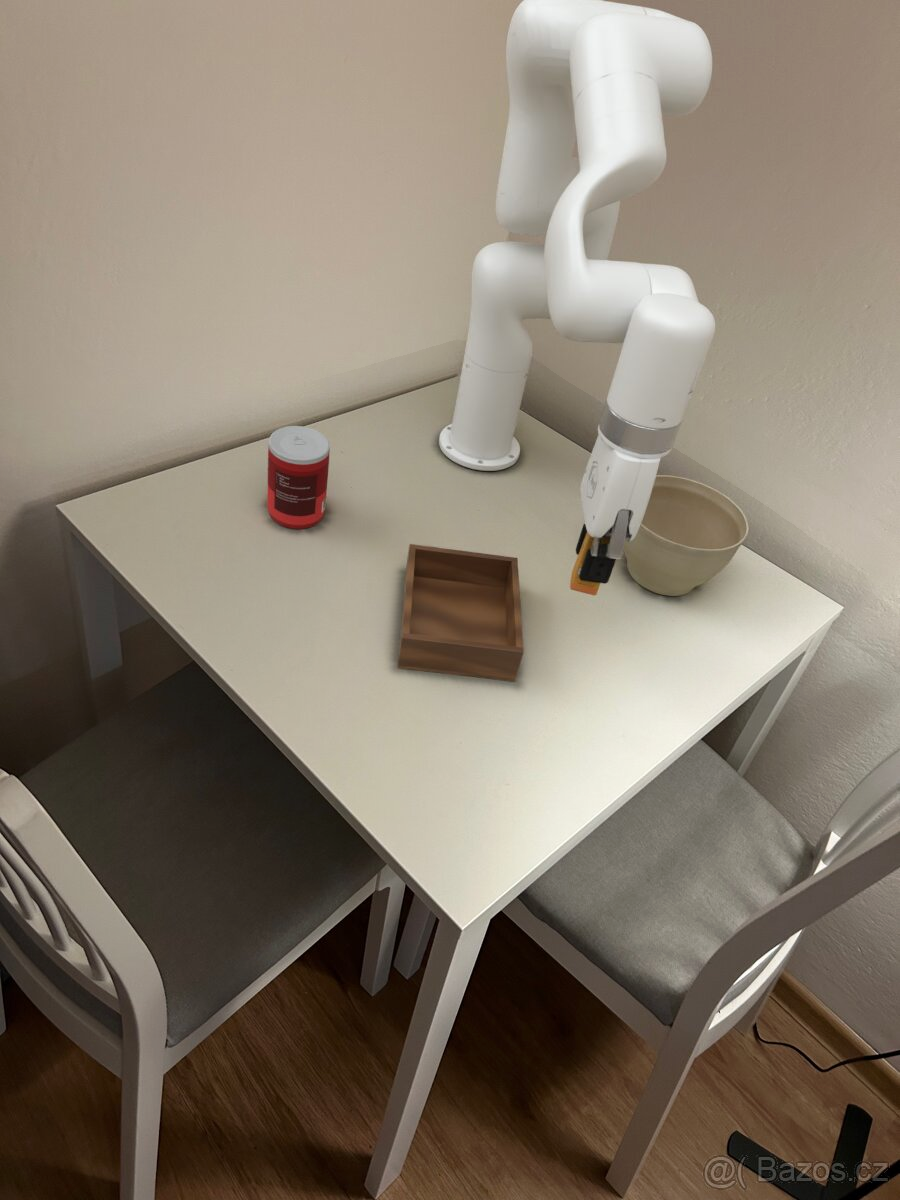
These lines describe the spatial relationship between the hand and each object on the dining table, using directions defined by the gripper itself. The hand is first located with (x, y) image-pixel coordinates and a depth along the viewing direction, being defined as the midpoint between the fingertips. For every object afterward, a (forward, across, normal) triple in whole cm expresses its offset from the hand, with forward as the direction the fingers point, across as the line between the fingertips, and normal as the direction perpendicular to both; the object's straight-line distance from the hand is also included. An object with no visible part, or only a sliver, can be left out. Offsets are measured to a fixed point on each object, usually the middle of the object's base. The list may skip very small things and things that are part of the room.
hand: (591, 566), depth 99 cm
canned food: (+13, -20, -35) cm, 42 cm away
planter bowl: (+13, -17, +15) cm, 26 cm away
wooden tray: (+13, -2, -13) cm, 19 cm away
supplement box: (+3, 0, 0) cm, 3 cm away
